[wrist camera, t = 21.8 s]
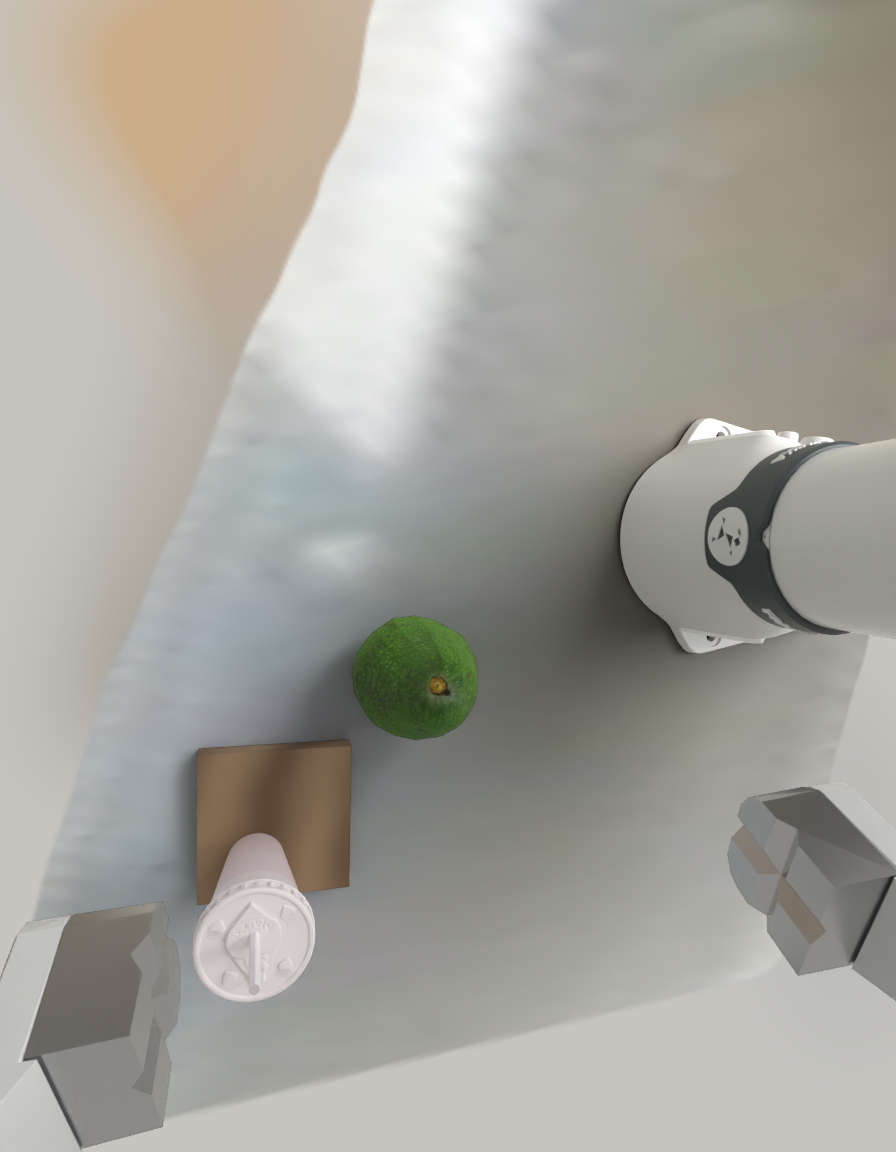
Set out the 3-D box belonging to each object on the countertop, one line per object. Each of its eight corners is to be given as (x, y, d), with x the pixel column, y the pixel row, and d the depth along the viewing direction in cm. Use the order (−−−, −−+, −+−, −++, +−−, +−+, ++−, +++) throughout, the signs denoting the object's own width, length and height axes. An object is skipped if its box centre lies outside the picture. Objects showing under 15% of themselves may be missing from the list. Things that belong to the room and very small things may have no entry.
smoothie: (300, 805, 45) (318, 920, 32) (308, 895, 46) (329, 1046, 32) (200, 822, 43) (175, 952, 30) (209, 916, 44) (188, 1084, 31)
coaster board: (348, 739, 47) (351, 746, 46) (346, 875, 48) (349, 886, 46) (198, 748, 45) (196, 755, 43) (198, 893, 45) (196, 905, 44)
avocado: (455, 610, 49) (515, 634, 37) (448, 715, 49) (506, 771, 38) (346, 607, 47) (374, 631, 35) (340, 717, 47) (366, 777, 36)
